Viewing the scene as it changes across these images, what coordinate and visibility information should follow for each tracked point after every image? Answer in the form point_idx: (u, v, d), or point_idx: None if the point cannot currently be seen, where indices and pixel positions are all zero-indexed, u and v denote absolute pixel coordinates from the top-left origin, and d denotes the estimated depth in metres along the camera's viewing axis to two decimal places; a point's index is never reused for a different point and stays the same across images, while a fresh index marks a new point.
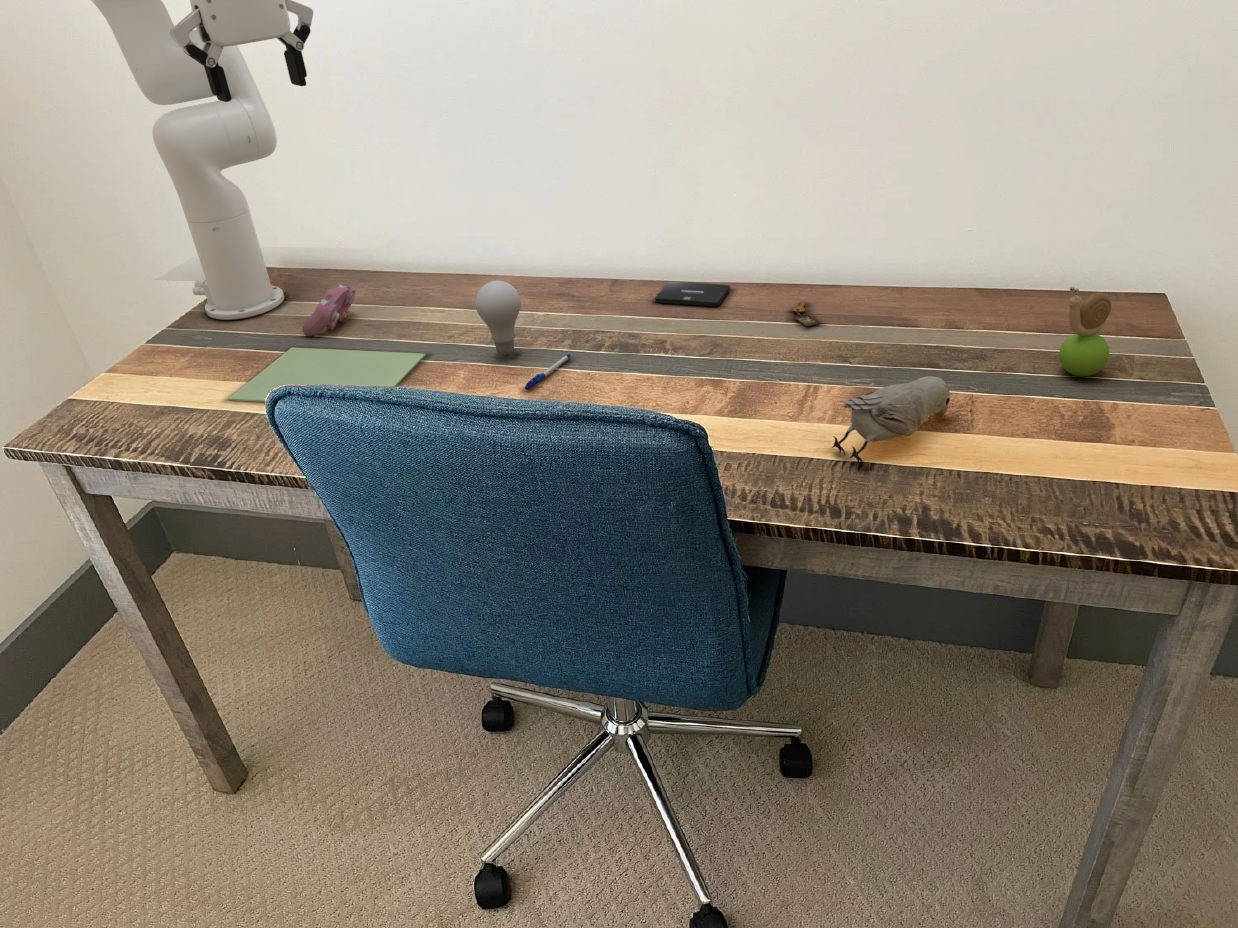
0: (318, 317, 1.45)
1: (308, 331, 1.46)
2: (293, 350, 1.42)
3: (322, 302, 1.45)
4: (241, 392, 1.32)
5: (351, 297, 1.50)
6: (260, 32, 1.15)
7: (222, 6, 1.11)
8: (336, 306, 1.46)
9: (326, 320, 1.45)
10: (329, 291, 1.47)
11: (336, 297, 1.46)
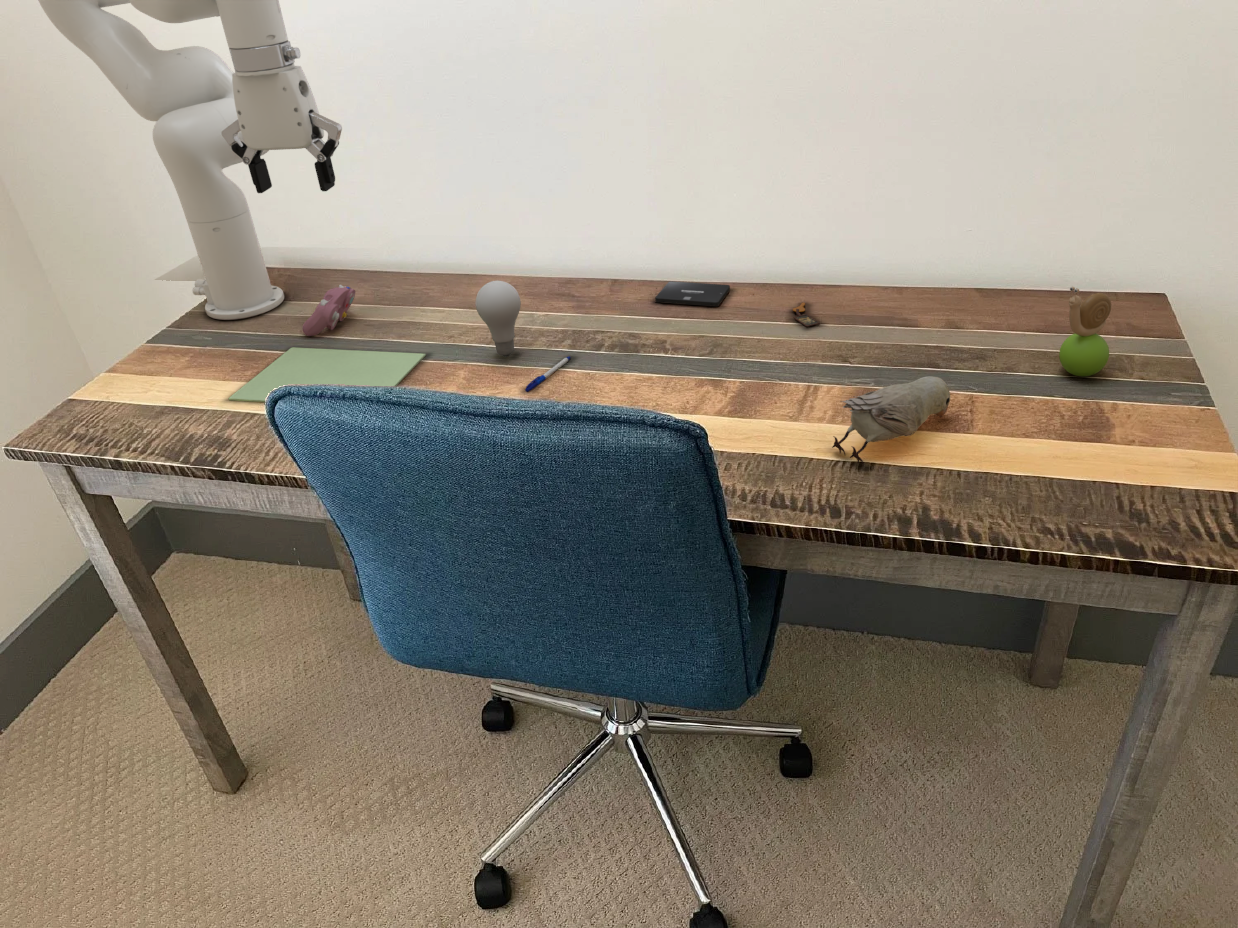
0: (318, 317, 1.45)
1: (308, 331, 1.46)
2: (293, 350, 1.42)
3: (322, 302, 1.45)
4: (241, 392, 1.32)
5: (351, 297, 1.50)
6: (281, 143, 1.29)
7: (249, 119, 1.28)
8: (336, 306, 1.46)
9: (326, 320, 1.45)
10: (329, 291, 1.47)
11: (336, 297, 1.46)
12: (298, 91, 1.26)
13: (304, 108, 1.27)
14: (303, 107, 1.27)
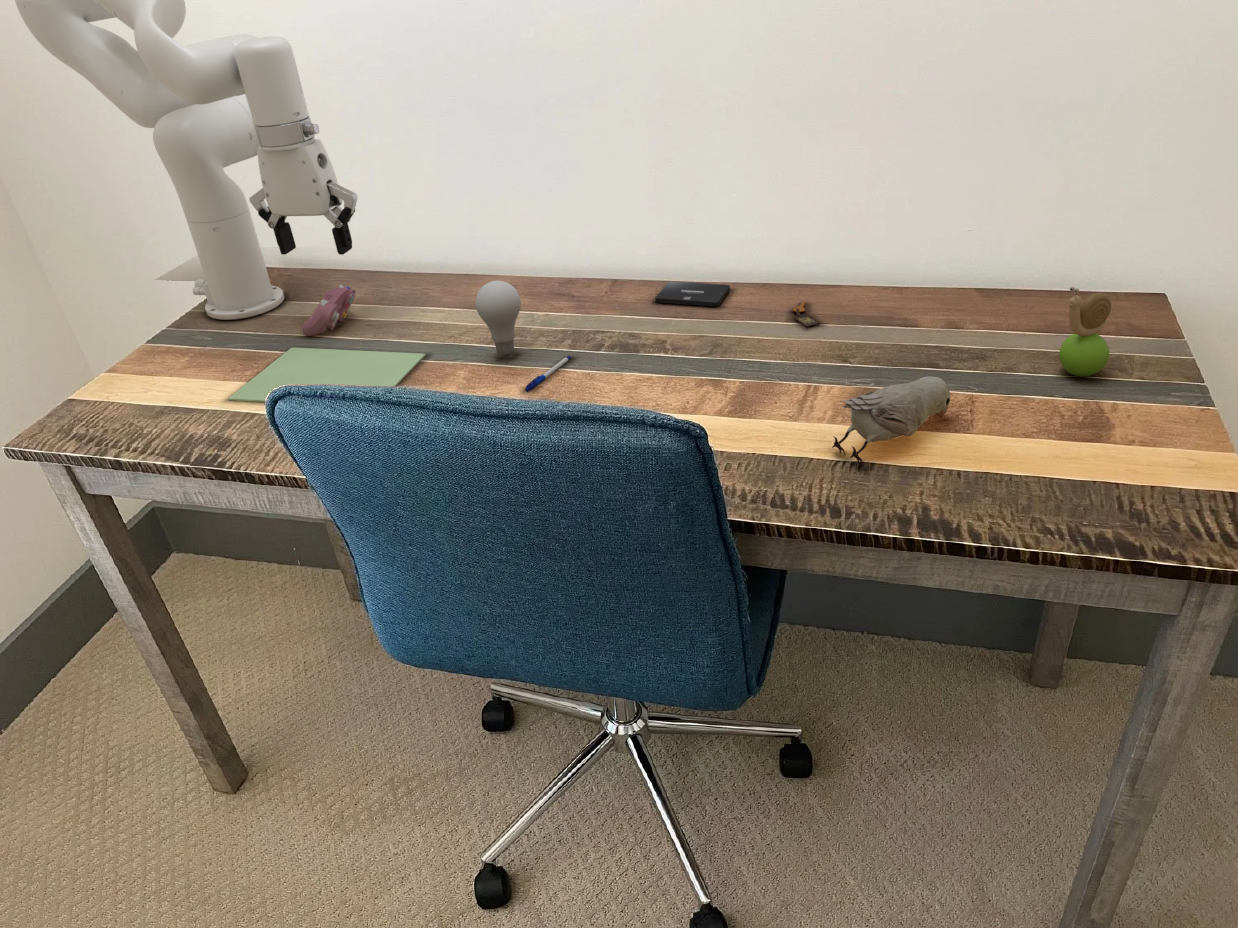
0: (318, 317, 1.45)
1: (308, 331, 1.46)
2: (293, 350, 1.42)
3: (322, 302, 1.45)
4: (241, 392, 1.32)
5: (351, 297, 1.50)
6: (302, 210, 1.38)
7: (272, 188, 1.37)
8: (336, 306, 1.46)
9: (326, 320, 1.45)
10: (329, 291, 1.47)
11: (336, 297, 1.46)
12: (316, 164, 1.35)
13: (322, 179, 1.36)
14: (321, 178, 1.36)
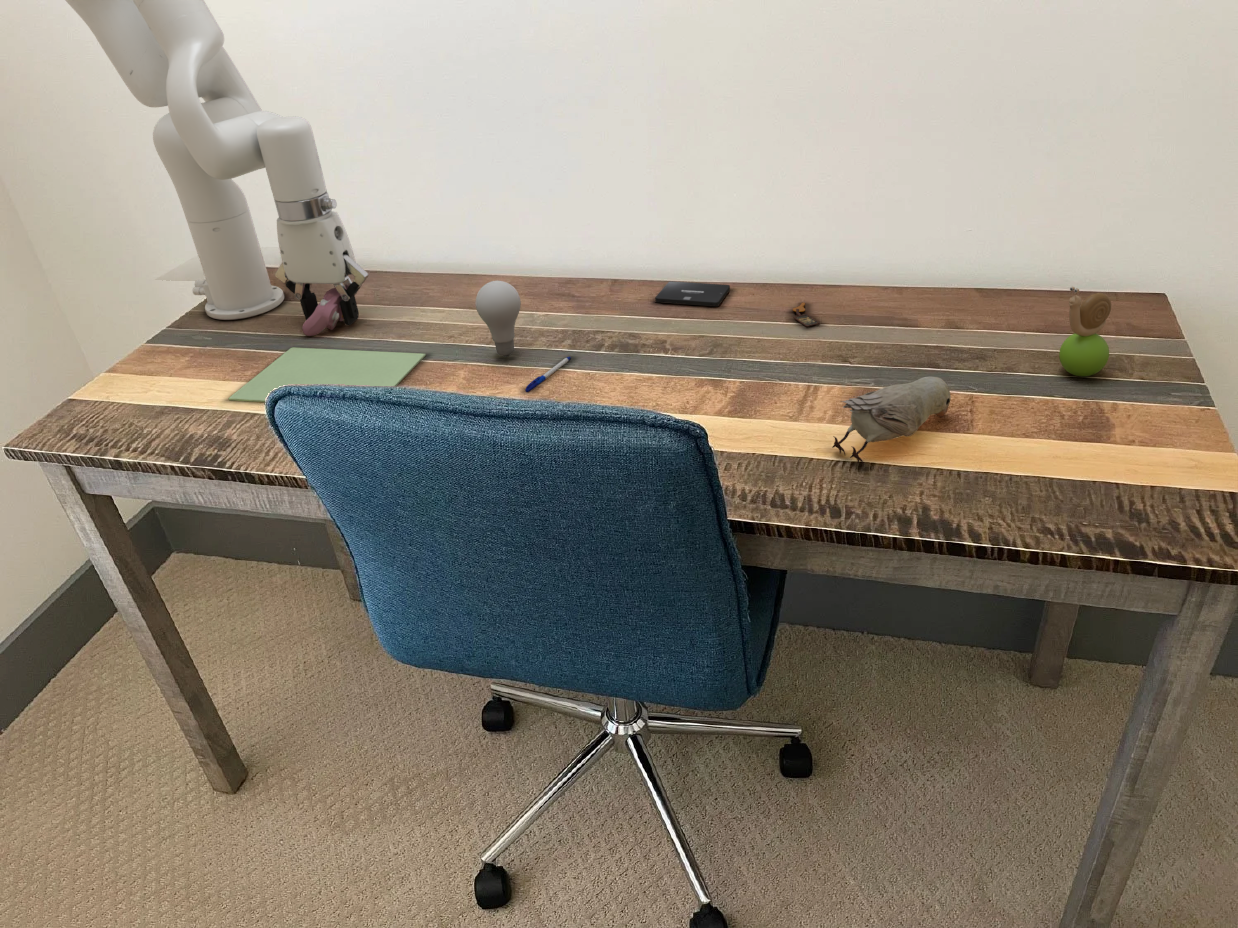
0: (318, 317, 1.45)
1: (308, 331, 1.46)
2: (293, 350, 1.42)
3: (322, 302, 1.45)
4: (241, 392, 1.32)
5: None
6: (318, 279, 1.44)
7: (290, 257, 1.43)
8: (336, 306, 1.46)
9: (326, 320, 1.45)
10: (329, 291, 1.47)
11: (336, 297, 1.46)
12: (333, 236, 1.40)
13: (338, 250, 1.41)
14: (338, 250, 1.41)
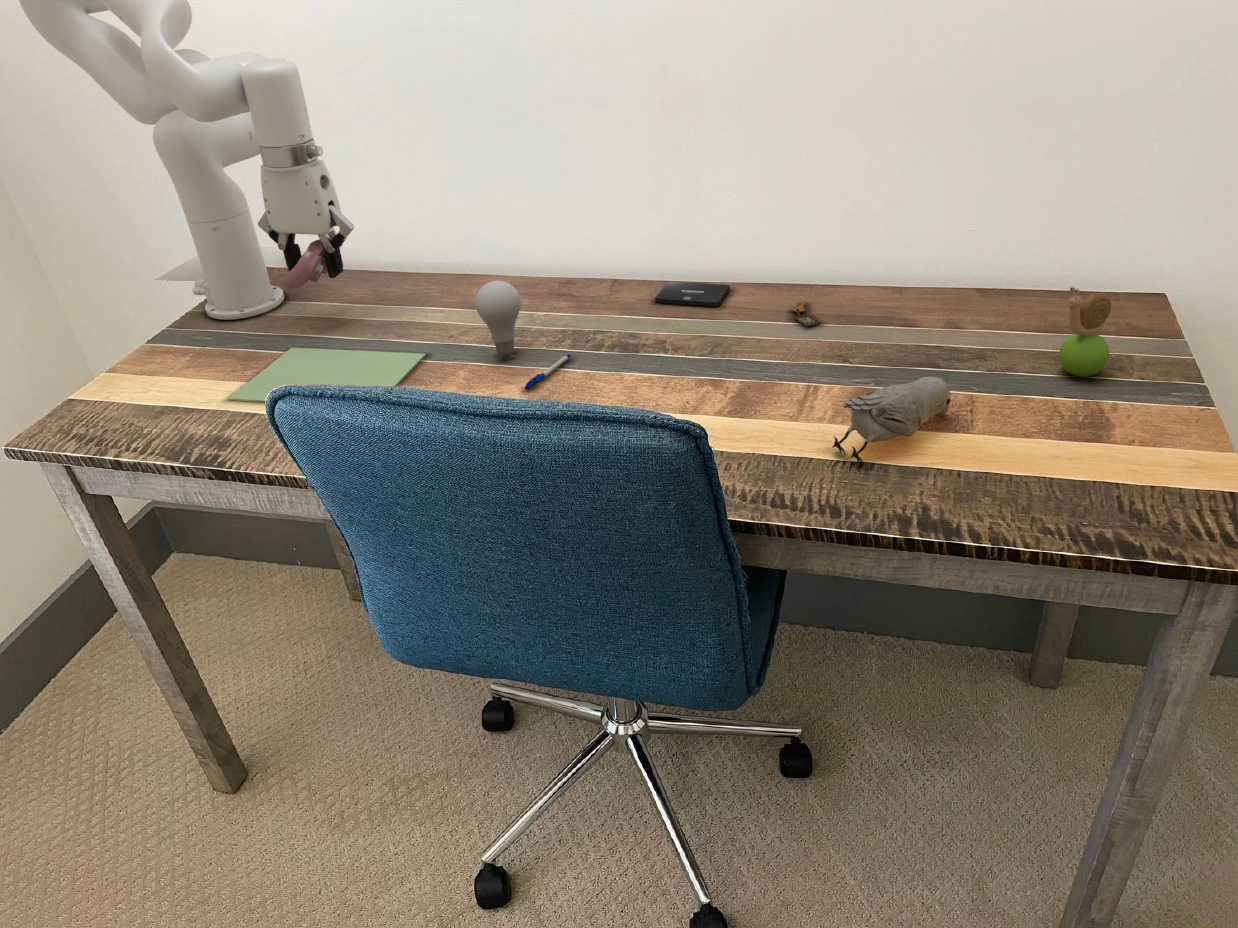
0: (301, 268, 1.41)
1: (291, 283, 1.43)
2: (293, 350, 1.42)
3: (306, 253, 1.41)
4: (241, 392, 1.32)
5: None
6: (302, 229, 1.40)
7: (274, 206, 1.39)
8: (321, 258, 1.42)
9: (309, 272, 1.41)
10: (313, 242, 1.43)
11: (320, 248, 1.42)
12: (319, 185, 1.37)
13: (324, 200, 1.38)
14: (323, 199, 1.38)
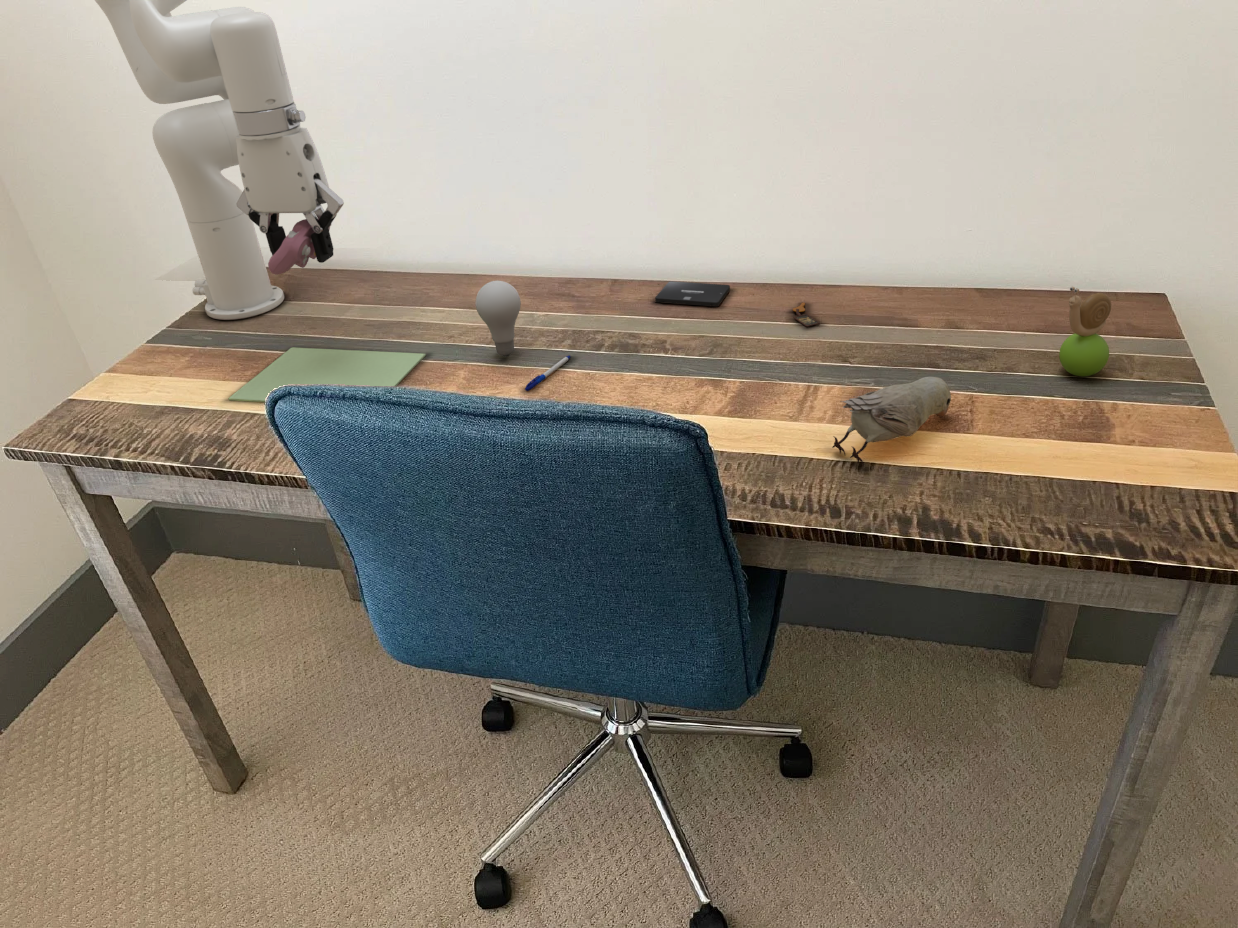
0: (286, 251, 1.25)
1: (275, 268, 1.27)
2: (293, 350, 1.42)
3: (290, 234, 1.25)
4: (241, 392, 1.32)
5: None
6: (286, 207, 1.24)
7: (253, 182, 1.24)
8: (307, 239, 1.26)
9: (294, 254, 1.25)
10: (299, 222, 1.27)
11: (306, 228, 1.26)
12: (302, 155, 1.21)
13: (308, 172, 1.22)
14: (307, 171, 1.22)
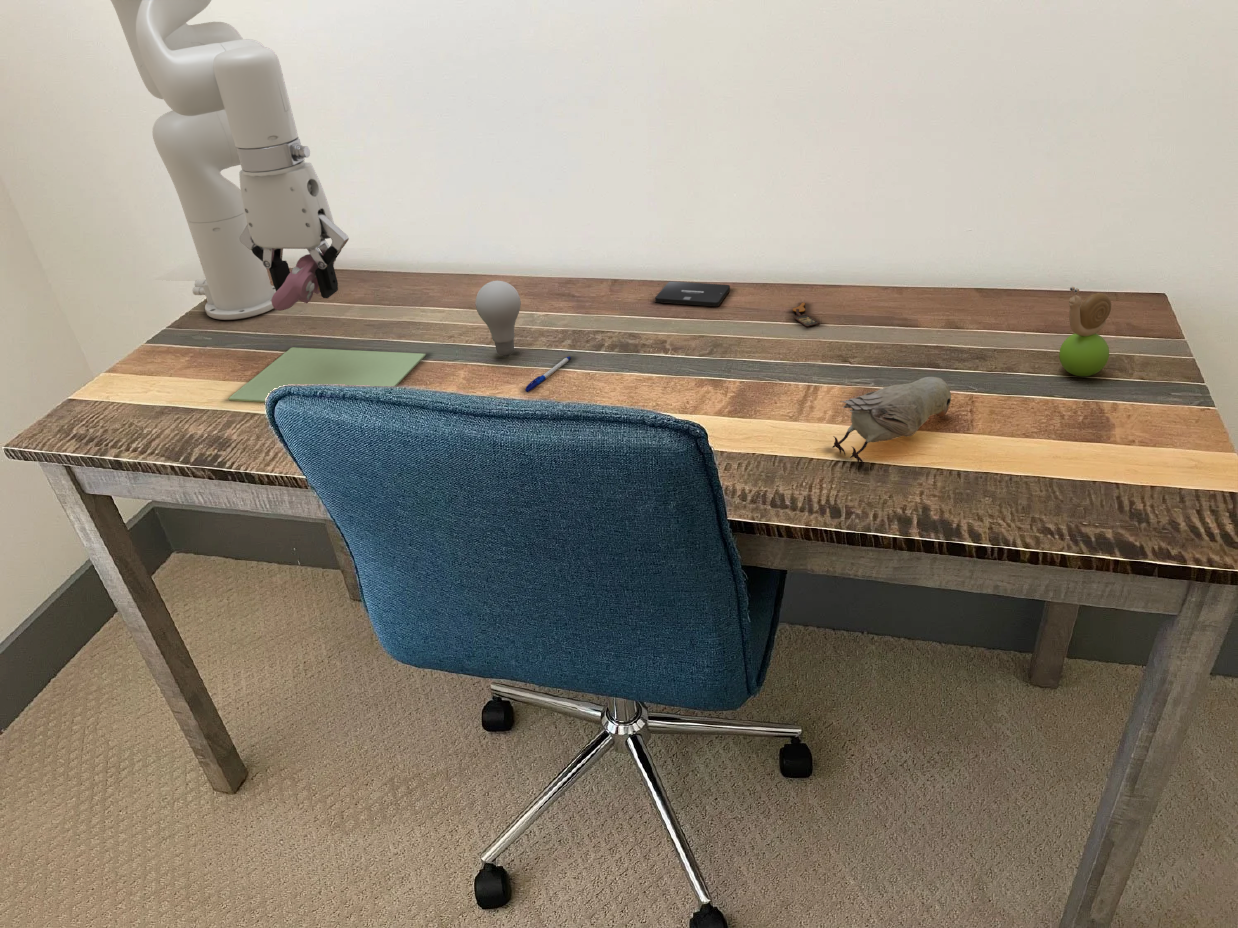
0: (289, 287, 1.23)
1: (278, 305, 1.24)
2: (293, 350, 1.42)
3: (294, 270, 1.23)
4: (241, 392, 1.32)
5: None
6: (289, 242, 1.22)
7: (256, 217, 1.21)
8: (311, 275, 1.24)
9: (298, 291, 1.23)
10: (303, 258, 1.25)
11: (311, 264, 1.24)
12: (306, 191, 1.19)
13: (312, 208, 1.20)
14: (312, 207, 1.19)
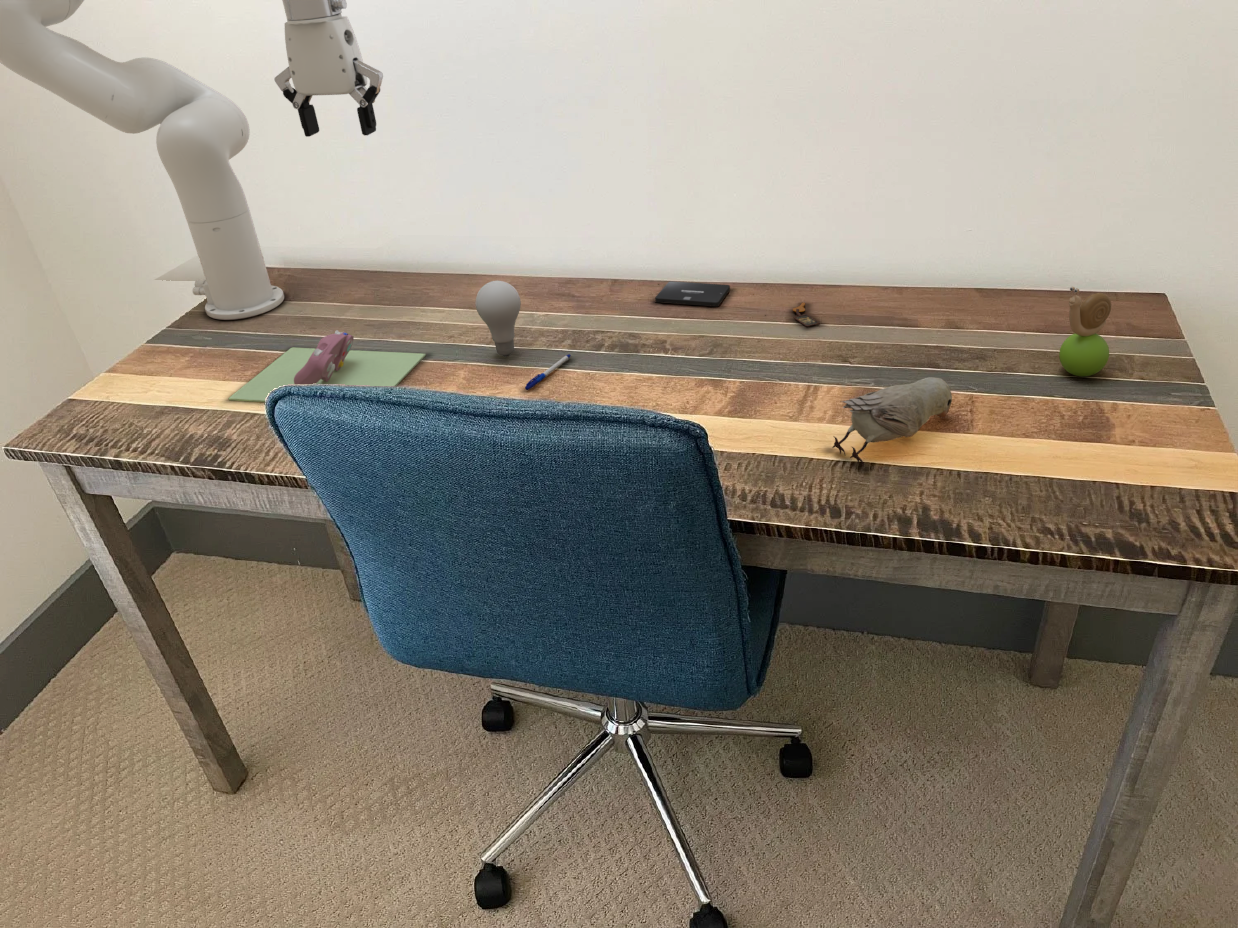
0: (311, 368, 1.28)
1: None
2: (293, 350, 1.42)
3: (316, 352, 1.28)
4: (241, 392, 1.32)
5: (349, 344, 1.34)
6: (327, 88, 1.39)
7: (298, 65, 1.38)
8: (332, 356, 1.29)
9: (320, 372, 1.28)
10: (324, 339, 1.30)
11: (331, 346, 1.30)
12: (343, 39, 1.36)
13: (348, 55, 1.37)
14: (347, 55, 1.37)
